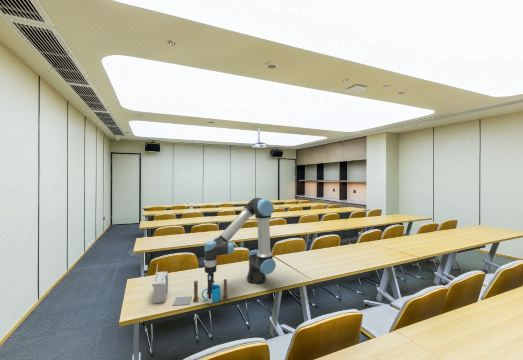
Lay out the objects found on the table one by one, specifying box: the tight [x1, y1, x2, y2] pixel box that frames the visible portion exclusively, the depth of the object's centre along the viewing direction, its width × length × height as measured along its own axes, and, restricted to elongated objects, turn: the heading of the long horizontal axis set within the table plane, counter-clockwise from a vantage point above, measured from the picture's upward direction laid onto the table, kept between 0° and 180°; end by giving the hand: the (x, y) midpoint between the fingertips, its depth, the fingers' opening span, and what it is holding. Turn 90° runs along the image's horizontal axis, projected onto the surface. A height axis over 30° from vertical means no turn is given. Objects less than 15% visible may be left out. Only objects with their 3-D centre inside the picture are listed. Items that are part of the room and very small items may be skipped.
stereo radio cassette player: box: [151, 262, 169, 304], centre depth 167 cm, size 21×8×20 cm, turn 17°
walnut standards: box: [192, 278, 229, 303], centre depth 163 cm, size 22×4×13 cm, turn 97°
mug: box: [200, 284, 221, 304], centre depth 163 cm, size 12×8×8 cm
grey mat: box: [172, 296, 192, 307], centre depth 161 cm, size 10×10×1 cm
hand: (210, 297), depth 163 cm, fingers open, 13 cm apart
